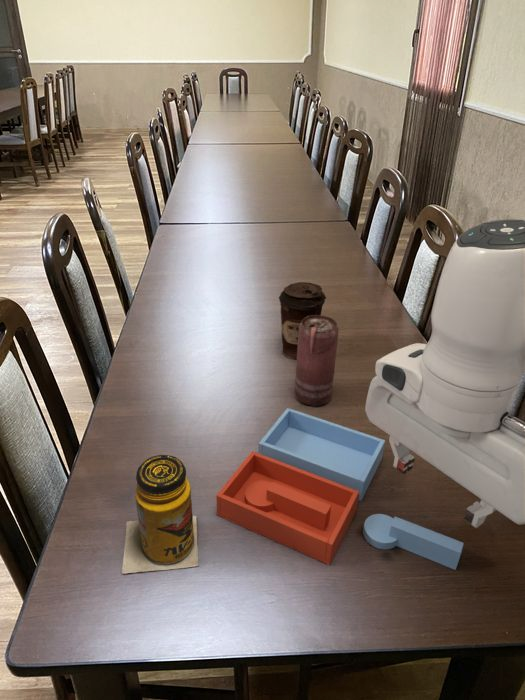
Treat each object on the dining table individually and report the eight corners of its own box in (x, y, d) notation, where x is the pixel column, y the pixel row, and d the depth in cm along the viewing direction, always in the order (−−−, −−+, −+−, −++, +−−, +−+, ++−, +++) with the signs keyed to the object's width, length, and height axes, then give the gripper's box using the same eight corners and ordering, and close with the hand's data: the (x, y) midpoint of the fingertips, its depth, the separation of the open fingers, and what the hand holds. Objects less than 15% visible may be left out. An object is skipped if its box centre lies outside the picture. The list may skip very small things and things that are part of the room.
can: (291, 405, 87) (295, 330, 80) (298, 383, 93) (303, 311, 85) (328, 411, 86) (336, 335, 79) (333, 389, 91) (341, 316, 84)
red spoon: (333, 514, 67) (335, 497, 66) (319, 539, 64) (321, 522, 62) (255, 482, 72) (255, 465, 70) (238, 504, 68) (238, 487, 67)
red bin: (356, 510, 68) (359, 491, 67) (329, 565, 61) (332, 544, 60) (252, 469, 74) (252, 450, 73) (216, 515, 67) (216, 495, 66)
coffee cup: (325, 363, 98) (332, 299, 92) (281, 365, 97) (284, 300, 91) (315, 339, 106) (320, 278, 99) (273, 341, 105) (276, 280, 98)
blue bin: (382, 458, 77) (385, 440, 75) (361, 501, 70) (364, 481, 68) (286, 425, 83) (287, 407, 81) (258, 462, 76) (258, 443, 74)
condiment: (198, 566, 61) (193, 490, 55) (121, 574, 60) (107, 498, 54) (196, 516, 67) (191, 443, 61) (127, 523, 66) (115, 449, 60)
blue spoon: (460, 551, 63) (466, 533, 62) (453, 579, 60) (458, 562, 59) (369, 515, 68) (372, 498, 66) (357, 540, 65) (360, 523, 63)
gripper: (589, 435, 46) (542, 543, 53) (403, 337, 60) (385, 433, 67) (552, 465, 43) (506, 575, 50) (364, 354, 57) (349, 453, 64)
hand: (436, 493), depth 59 cm, fingers open, 8 cm apart
